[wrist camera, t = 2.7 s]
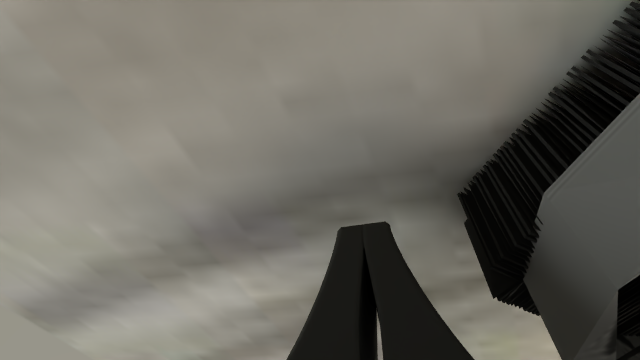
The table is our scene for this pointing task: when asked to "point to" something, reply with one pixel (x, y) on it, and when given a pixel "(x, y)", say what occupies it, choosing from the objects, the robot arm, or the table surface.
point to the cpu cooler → (569, 215)
